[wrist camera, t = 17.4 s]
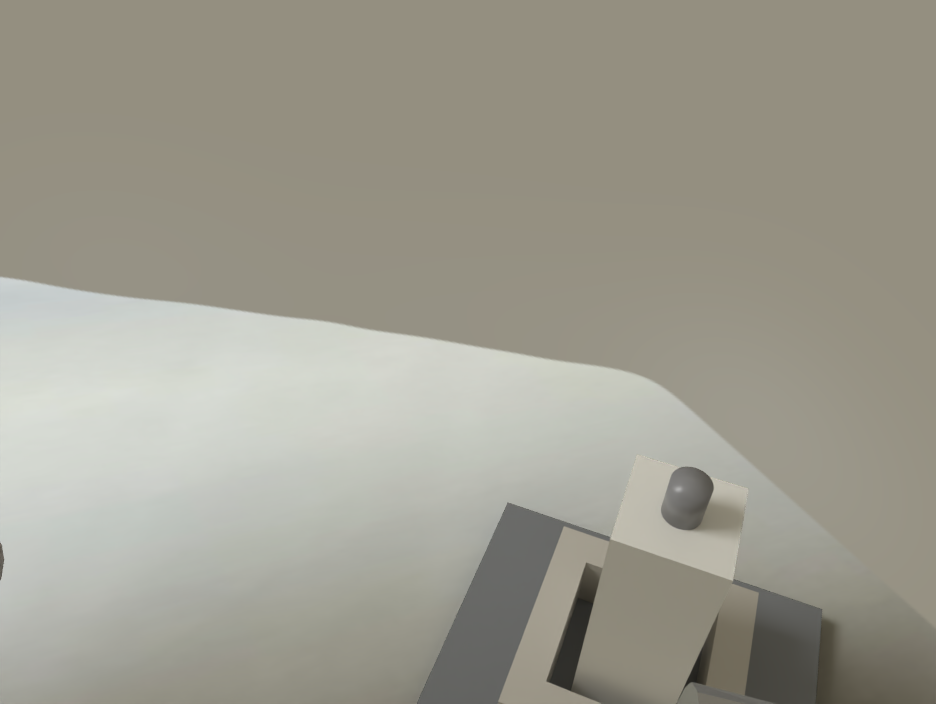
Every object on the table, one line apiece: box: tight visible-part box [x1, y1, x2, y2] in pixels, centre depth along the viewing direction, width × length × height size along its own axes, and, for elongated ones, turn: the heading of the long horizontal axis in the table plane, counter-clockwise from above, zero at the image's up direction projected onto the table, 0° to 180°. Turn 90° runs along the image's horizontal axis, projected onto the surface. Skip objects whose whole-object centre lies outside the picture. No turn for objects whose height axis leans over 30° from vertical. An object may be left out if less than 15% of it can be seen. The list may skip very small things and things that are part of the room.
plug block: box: [571, 454, 748, 704], centre depth 30 cm, size 4×4×14 cm
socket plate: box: [417, 503, 822, 704], centre depth 34 cm, size 16×14×4 cm
